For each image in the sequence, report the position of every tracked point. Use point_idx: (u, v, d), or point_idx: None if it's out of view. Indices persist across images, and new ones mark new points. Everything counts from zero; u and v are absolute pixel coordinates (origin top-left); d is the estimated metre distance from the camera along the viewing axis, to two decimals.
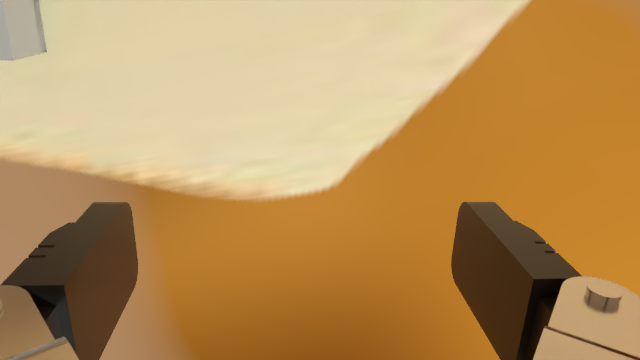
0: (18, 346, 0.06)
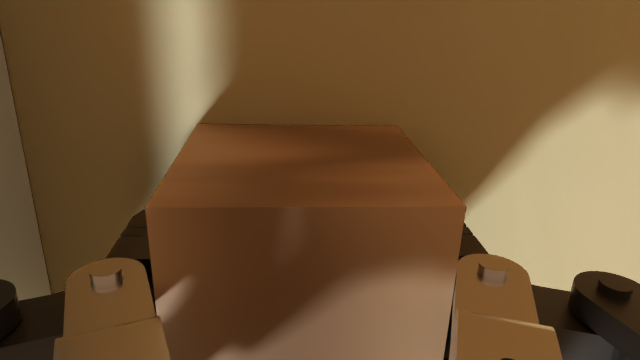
0: (150, 307, 0.07)
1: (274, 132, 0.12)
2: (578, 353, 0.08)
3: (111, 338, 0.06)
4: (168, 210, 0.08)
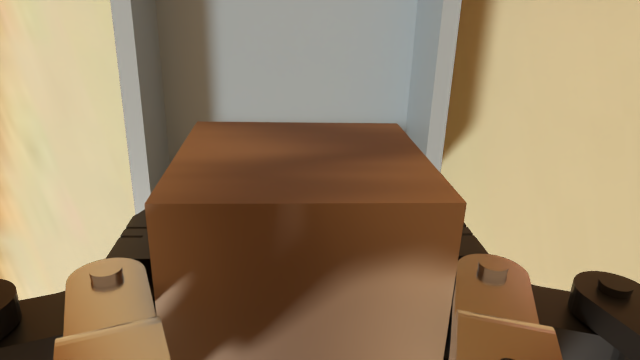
0: (150, 307, 0.07)
1: (274, 129, 0.12)
2: (578, 353, 0.08)
3: (111, 338, 0.06)
4: (167, 206, 0.08)
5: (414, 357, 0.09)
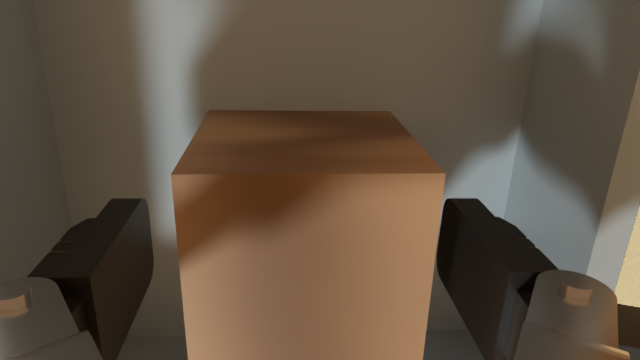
0: (51, 334, 0.07)
1: (278, 116, 0.13)
2: None
3: None
4: (190, 177, 0.09)
5: (403, 311, 0.10)
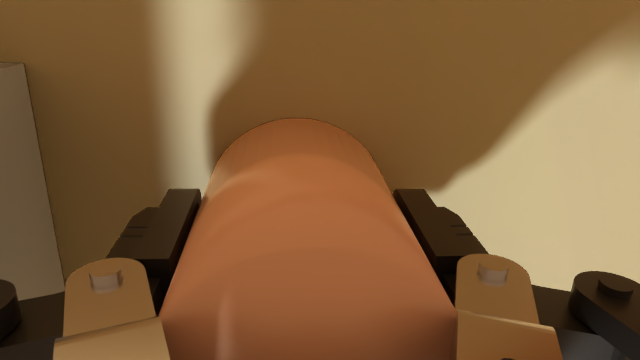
0: (150, 307, 0.07)
1: None
2: (578, 353, 0.08)
3: (111, 338, 0.06)
4: None
5: None
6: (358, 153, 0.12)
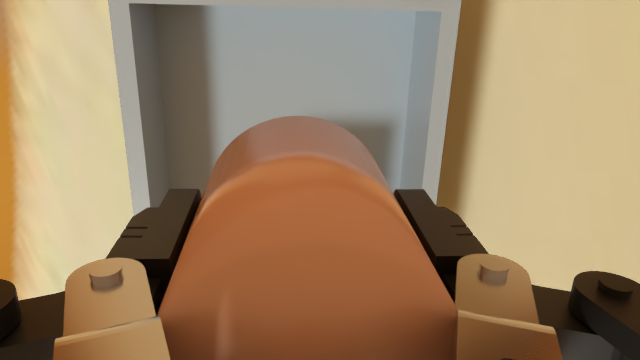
0: (150, 307, 0.07)
1: None
2: (578, 353, 0.08)
3: (111, 338, 0.06)
4: None
5: None
6: (358, 151, 0.12)
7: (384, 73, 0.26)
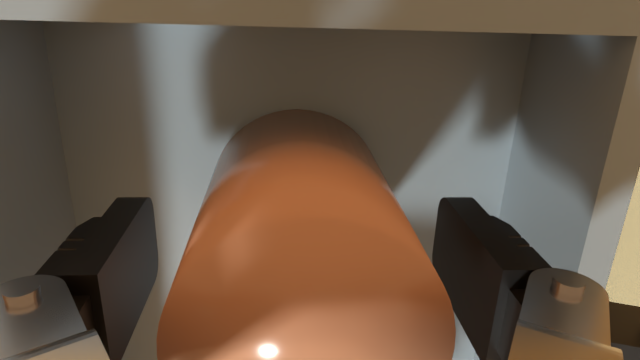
0: (61, 331, 0.07)
1: None
2: None
3: (44, 357, 0.05)
4: None
5: None
6: (354, 141, 0.13)
7: (468, 137, 0.15)
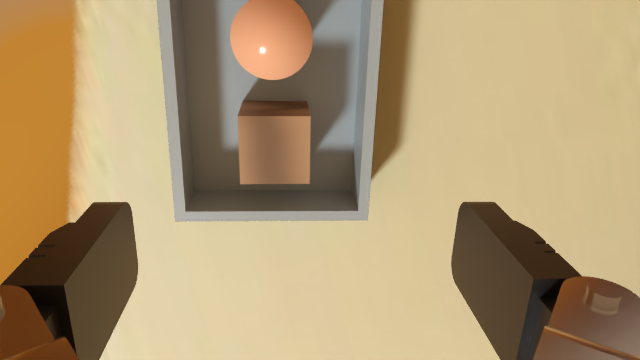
0: (18, 346, 0.06)
1: (267, 102, 0.37)
2: None
3: None
4: (242, 117, 0.33)
5: (302, 158, 0.35)
6: None
7: (343, 5, 0.36)
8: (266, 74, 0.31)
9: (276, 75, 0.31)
